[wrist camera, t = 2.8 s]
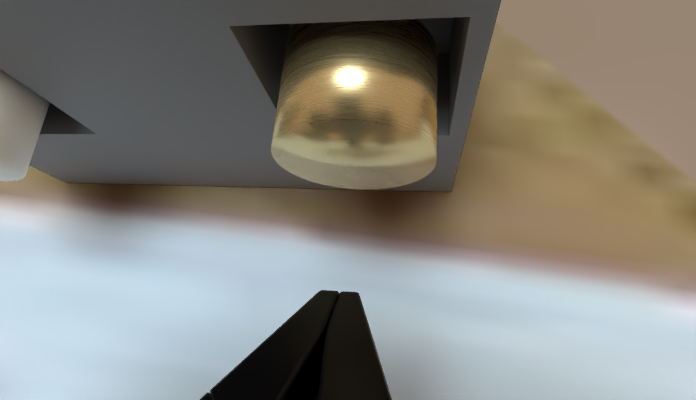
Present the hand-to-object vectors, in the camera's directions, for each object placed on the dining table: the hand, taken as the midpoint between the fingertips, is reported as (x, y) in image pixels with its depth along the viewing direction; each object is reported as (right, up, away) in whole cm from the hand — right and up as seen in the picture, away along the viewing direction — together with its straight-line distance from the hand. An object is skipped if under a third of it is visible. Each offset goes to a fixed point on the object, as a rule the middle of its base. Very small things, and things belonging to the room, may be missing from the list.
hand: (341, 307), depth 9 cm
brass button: (+1, +4, +4) cm, 5 cm away
